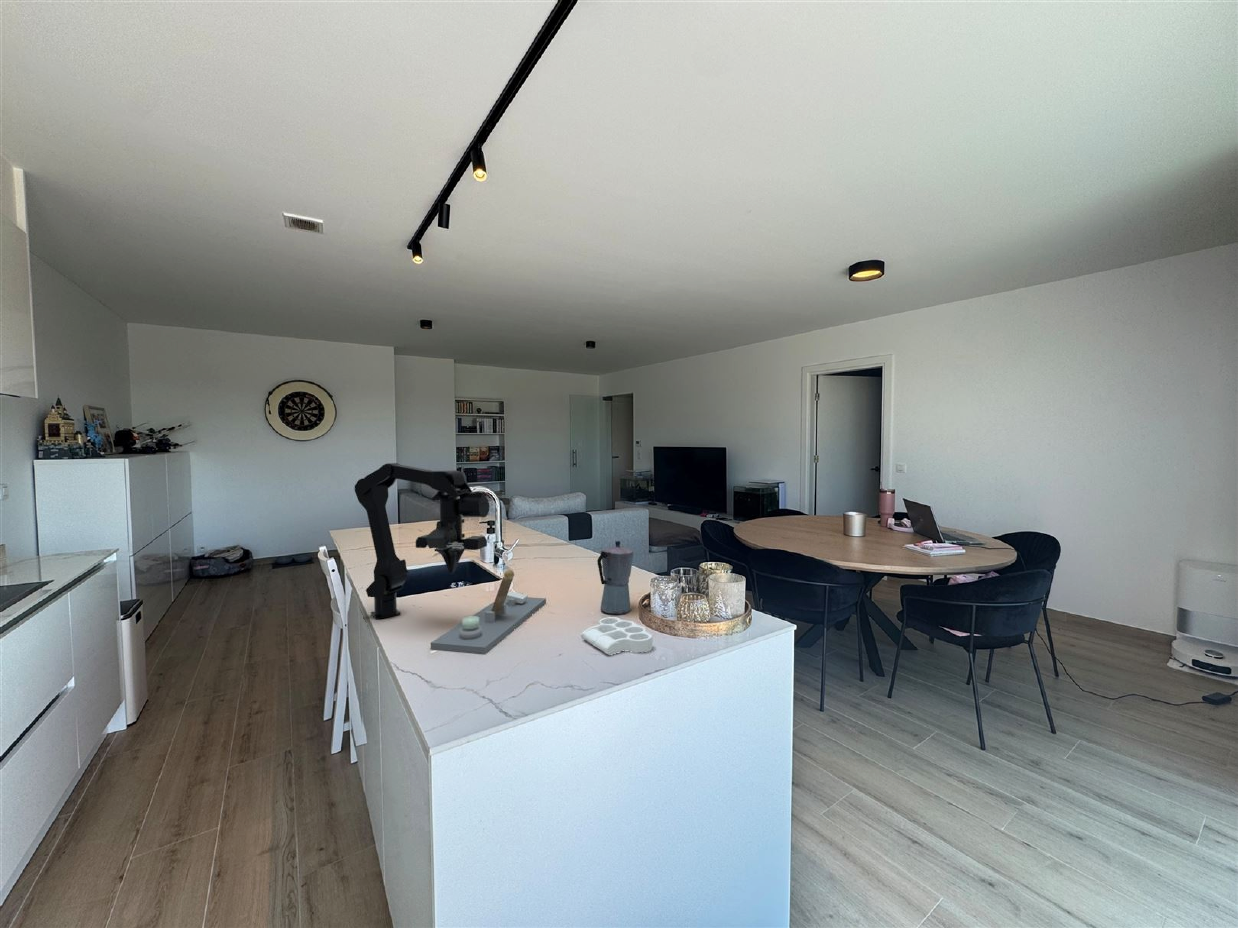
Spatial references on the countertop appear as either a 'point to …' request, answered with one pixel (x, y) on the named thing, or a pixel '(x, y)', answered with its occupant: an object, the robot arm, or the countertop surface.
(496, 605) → the walnut lever
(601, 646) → the white compartment tray
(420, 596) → the countertop surface
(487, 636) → the switch panel
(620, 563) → the moka pot
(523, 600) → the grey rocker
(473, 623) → the sage button
